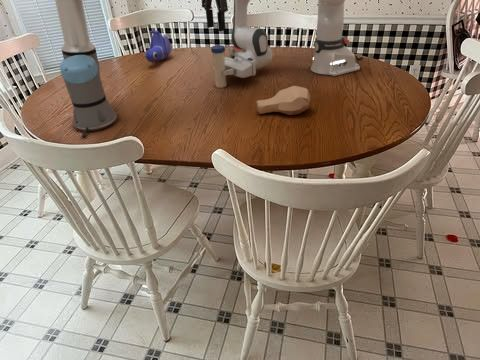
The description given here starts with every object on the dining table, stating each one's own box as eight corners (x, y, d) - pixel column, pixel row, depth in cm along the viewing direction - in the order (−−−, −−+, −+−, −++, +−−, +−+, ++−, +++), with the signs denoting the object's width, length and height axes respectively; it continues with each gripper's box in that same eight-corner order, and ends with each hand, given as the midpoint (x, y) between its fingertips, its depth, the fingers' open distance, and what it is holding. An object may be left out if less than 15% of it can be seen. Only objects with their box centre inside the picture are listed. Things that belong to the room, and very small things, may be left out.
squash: (314, 116, 128) (313, 95, 122) (259, 125, 130) (256, 105, 124) (308, 99, 136) (307, 78, 129) (257, 108, 138) (253, 88, 131)
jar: (213, 86, 156) (209, 49, 147) (219, 83, 159) (216, 45, 150) (222, 88, 154) (219, 50, 145) (228, 84, 157) (226, 47, 148)
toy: (159, 62, 200) (139, 68, 178) (155, 30, 193) (133, 32, 171) (176, 61, 198) (157, 67, 176) (172, 29, 191) (151, 31, 169)
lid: (208, 52, 147) (208, 48, 146) (216, 48, 151) (216, 44, 150) (220, 54, 145) (219, 49, 144) (227, 50, 149) (227, 45, 148)
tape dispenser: (245, 69, 176) (265, 54, 189) (245, 58, 173) (265, 44, 185) (216, 62, 184) (237, 49, 196) (215, 52, 180) (236, 39, 193)
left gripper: (187, -38, 134) (195, 26, 148) (217, -35, 121) (222, 35, 134) (204, -40, 138) (210, 23, 151) (235, -38, 124) (238, 31, 138)
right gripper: (227, 52, 164) (203, 59, 157) (257, 61, 151) (232, 69, 144) (228, 65, 168) (205, 73, 161) (258, 75, 155) (233, 84, 148)
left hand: (216, 28), depth 143 cm, fingers open, 7 cm apart
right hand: (218, 71), depth 153 cm, fingers closed on jar, 5 cm apart
